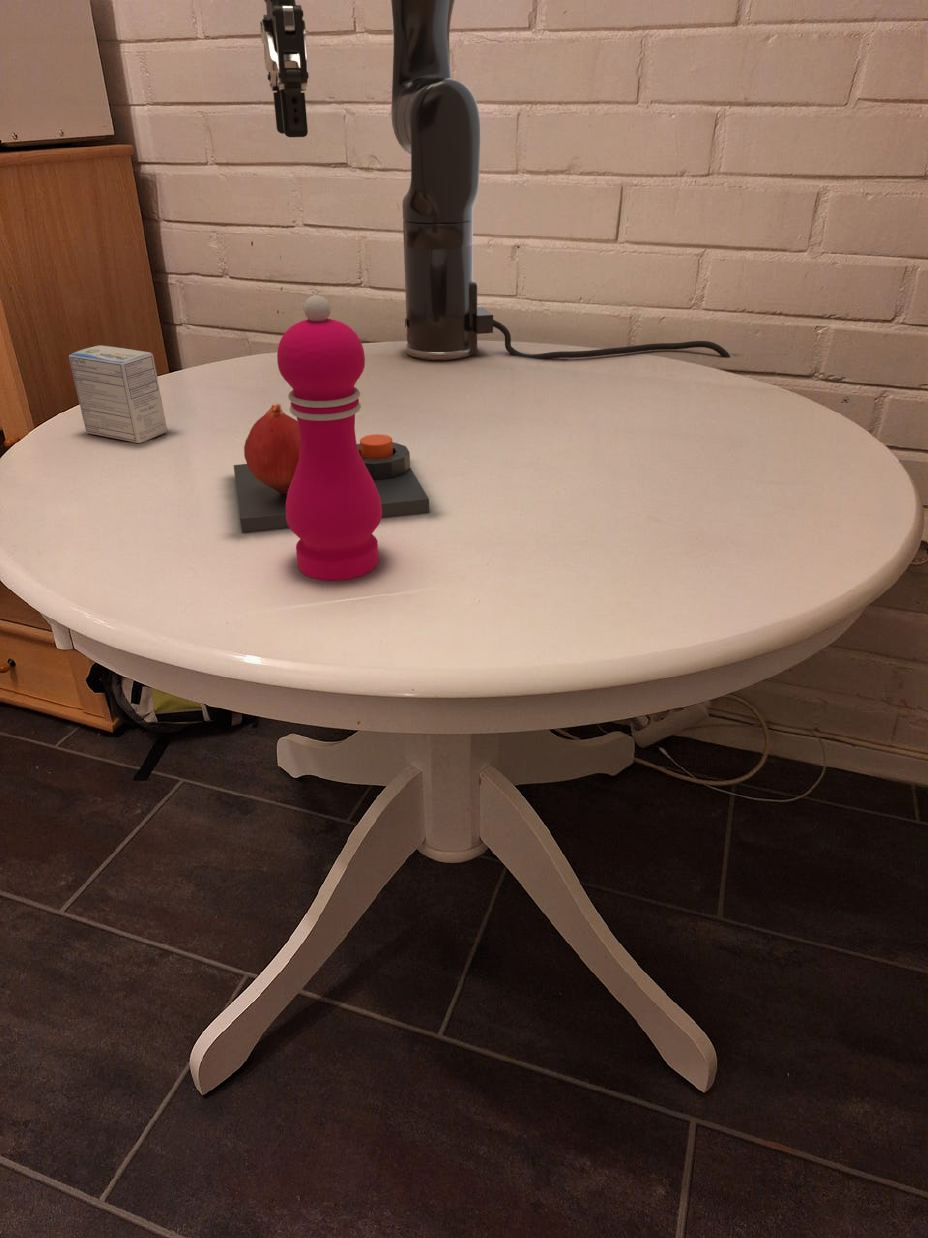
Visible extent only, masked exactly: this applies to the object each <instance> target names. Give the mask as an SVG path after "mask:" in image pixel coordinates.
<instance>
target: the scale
mask: <svg viewBox="0 0 928 1238" xmlns="http://www.w3.org/2000/svg"><path fill="white" fill-rule="evenodd" d="M357 447H358V450H359V453H360V455H361V452H360V443H357ZM410 454H411V453H410V451H409V449H408V447H407V446H406V445H404V444H400V443H398V442H395V441H393V456H390V457H387V458H378V459H371V458H364V457H362V456H361V458H362V460H363V462H364V464H365V466H366V468H367V469H368V471H369V473H370V475H371V477H372V479H373V481H374V482H375V485H376V488H377V490H378V493H379V496H380V500H381V506H382V518H381V519H386V518H395V517H403V516H414V515H421V514H430V498H429V496H428V494H427V493H426V492H425V490H424V488H423V486H422V485H421V483H420V481H419V480H418V478H417V477H416V475H415V473H414V471H413V470H412V468H411V456H410ZM233 472H234V480H235V488H236V489H235V490H236V497H237V506H238V512H239V513H238V514H239V521H240V527H241V529H240V530H241V534H249V533H257V532H267V531H277V530H286V529H290V527H289V526H288V524H287V520H286V499H287V494H288V493H286V494H284V493H279V492H277V491H276V490H274V489H273V488H271V487H269V486H267V485H266V484H264V483H262V482H261V481H260V480H258V479H257V478H256V477H255V476H254V475H253V473H252V472H251V471H250V469H249V467H248V465H247V463H241V464H233Z"/></svg>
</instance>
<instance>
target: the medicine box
mask: <svg viewBox="0 0 928 1238" xmlns="http://www.w3.org/2000/svg"><path fill="white" fill-rule="evenodd" d="M68 359H69V363H70V368H71V373H72V376H73V377H72V378H73V381H74V386H75V389H76V394H77V399H78V402H79V407H80V412H81V415H82V420H83V424H84V428H85V432H86V433H87V434H90V435H95V436H101V437H106V438H111V439H116V440H121V441H125V442H131V443H136V444H141V443H145V442H147V441H150V440H153V439H154V438H157V437H159V436H162V435H164V434H166V433H167V432H168V425H167V421H166V416H165V410H164V406H163V399H162V395H161V389H160V385H159V379H158V374H157V369H156V364H155V358H154V354H153V353H152V352H149V351H142V350H136V349H130V348H124V347H116V346H109V345H101V344H100V345H95V346H91V347H86V348H84V349H80V350H77V351H74V352H73V353H70V354H69V355H68Z"/></svg>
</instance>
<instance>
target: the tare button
mask: <svg viewBox="0 0 928 1238" xmlns="http://www.w3.org/2000/svg"><path fill="white" fill-rule="evenodd" d="M393 442H394V440H393V437H392V436H389V435H388V434H387V435H386V434H380V433H379V434H378V433H377V434H376V433H375V434H368V435H365V436H362V437H361V438H360V439H359V444H360V452H361V456H362V457H364V458H371V459H378V458H387V457H390V456H393Z"/></svg>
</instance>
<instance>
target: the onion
mask: <svg viewBox="0 0 928 1238" xmlns="http://www.w3.org/2000/svg"><path fill="white" fill-rule="evenodd" d="M299 454H300V432H299V427H298V422H297V420H296V419H295V418H293V417H292V416H290V415H288V414H286V413H285V412H284V411H283V409H282V406H281V403H273V404H272V405H271V407H270V408H269V410H267V411H266V413H265V414H263V415H262V416H260V417H259V418H258V419H257V420H256V422H254V424H253V426H252V427H251V429H250V431H249V434H248V435H247V437H246V439H245V442H244V445H243V455H244V459H245V464H247V465H248V467H249V469H250V471H251V472H252V473H253V475H254V476H255V477H256V478H257V479H258V480H260V481H261V482H262V483H264V484H266V485H267V486H269V487H271V488H273V489H274V490H276V491H277V492H279V493H284V494H286V493H288V490H289V487H290V484H291V481H292V479H293V476H294V473H295V471H296V467H297V464H298V461H299Z"/></svg>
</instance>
